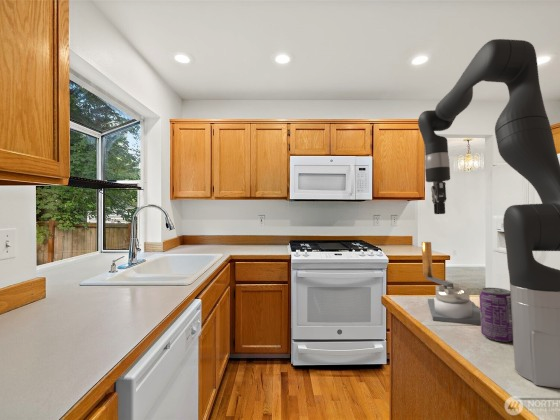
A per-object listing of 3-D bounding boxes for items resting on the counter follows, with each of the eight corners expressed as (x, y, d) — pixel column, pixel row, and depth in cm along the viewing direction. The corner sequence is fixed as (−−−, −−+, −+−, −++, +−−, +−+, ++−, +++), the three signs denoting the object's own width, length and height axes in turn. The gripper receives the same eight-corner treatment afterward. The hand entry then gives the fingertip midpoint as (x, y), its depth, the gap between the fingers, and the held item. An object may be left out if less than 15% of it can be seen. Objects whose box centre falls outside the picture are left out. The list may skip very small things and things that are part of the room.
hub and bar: (476, 302, 86) (473, 246, 87) (447, 303, 86) (444, 247, 86) (438, 287, 105) (436, 241, 105) (414, 288, 104) (411, 242, 105)
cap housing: (488, 325, 82) (487, 306, 83) (433, 320, 88) (432, 303, 88) (473, 305, 101) (472, 290, 101) (427, 302, 106) (427, 287, 106)
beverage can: (509, 334, 76) (507, 287, 77) (521, 345, 70) (518, 294, 70) (477, 331, 79) (475, 286, 79) (486, 342, 72) (483, 293, 72)
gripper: (453, 163, 94) (456, 213, 93) (446, 169, 107) (448, 213, 106) (427, 165, 96) (429, 214, 96) (423, 171, 110) (425, 214, 109)
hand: (439, 214), depth 101 cm, fingers open, 8 cm apart
